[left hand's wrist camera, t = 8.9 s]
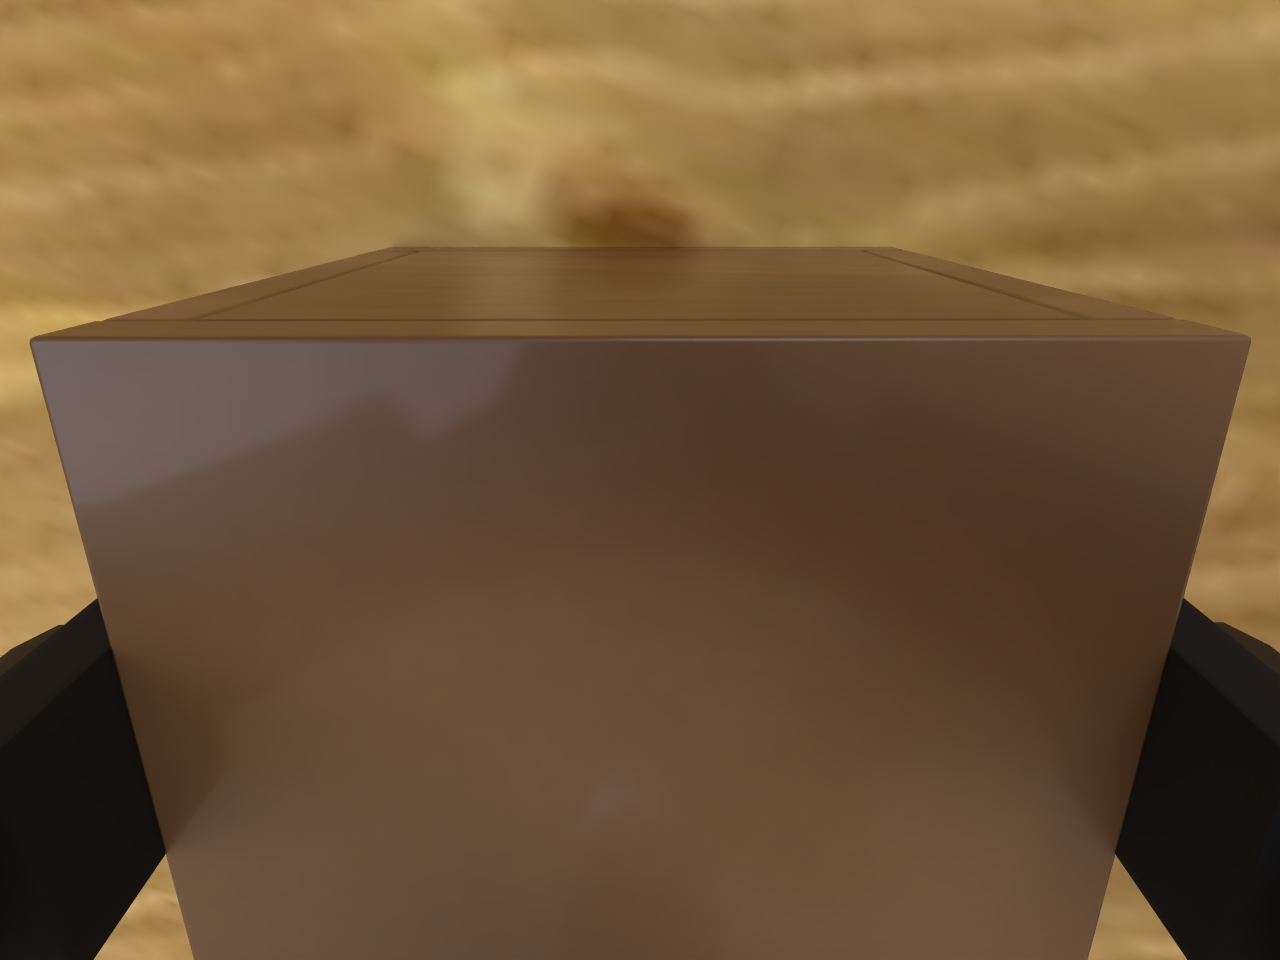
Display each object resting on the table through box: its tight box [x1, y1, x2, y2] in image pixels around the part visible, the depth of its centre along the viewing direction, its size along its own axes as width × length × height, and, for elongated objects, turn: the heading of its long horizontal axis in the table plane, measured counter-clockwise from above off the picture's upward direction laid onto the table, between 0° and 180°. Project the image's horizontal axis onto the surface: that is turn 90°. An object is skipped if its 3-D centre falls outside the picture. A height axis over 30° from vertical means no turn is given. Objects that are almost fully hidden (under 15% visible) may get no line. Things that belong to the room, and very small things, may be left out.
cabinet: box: [30, 247, 1251, 960], centre depth 16 cm, size 21×11×11 cm, turn 0°
